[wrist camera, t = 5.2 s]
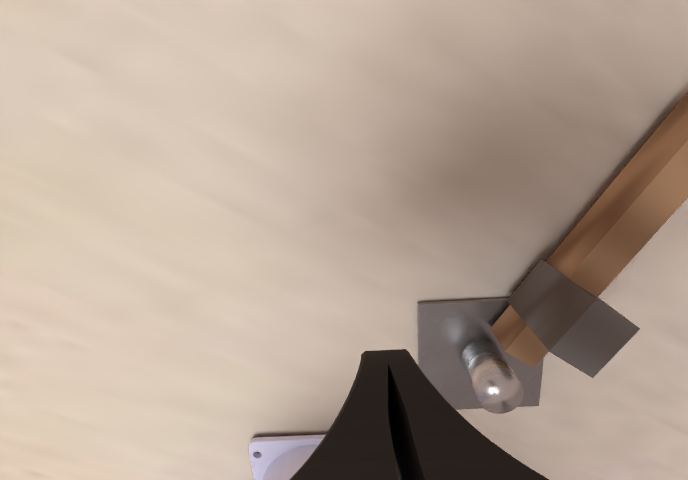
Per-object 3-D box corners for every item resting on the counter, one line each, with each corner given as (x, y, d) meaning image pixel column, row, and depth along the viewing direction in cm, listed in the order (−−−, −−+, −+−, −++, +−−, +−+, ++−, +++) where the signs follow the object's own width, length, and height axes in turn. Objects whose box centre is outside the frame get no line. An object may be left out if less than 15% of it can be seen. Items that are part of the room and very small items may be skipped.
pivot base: (536, 402, 24) (566, 449, 21) (418, 407, 24) (429, 454, 21) (546, 295, 22) (581, 328, 19) (417, 302, 22) (429, 335, 19)
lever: (538, 357, 22) (586, 420, 18) (485, 325, 22) (521, 382, 17) (739, 134, 19) (864, 141, 14) (681, 89, 18) (793, 81, 14)
